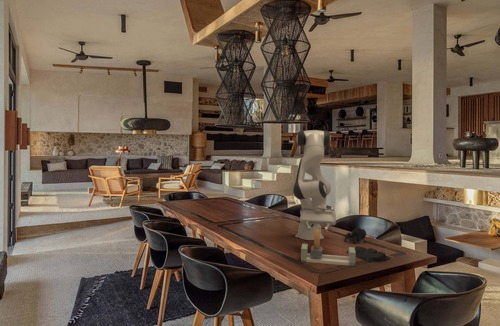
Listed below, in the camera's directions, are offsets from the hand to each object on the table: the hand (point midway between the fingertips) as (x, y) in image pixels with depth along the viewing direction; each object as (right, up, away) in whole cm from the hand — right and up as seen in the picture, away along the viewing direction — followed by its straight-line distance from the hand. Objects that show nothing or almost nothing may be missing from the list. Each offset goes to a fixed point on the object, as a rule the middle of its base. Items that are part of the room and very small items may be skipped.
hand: (317, 230), depth 210 cm
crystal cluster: (+30, -14, +34) cm, 48 cm away
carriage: (-2, -12, -7) cm, 14 cm away
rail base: (+4, -15, -8) cm, 18 cm away
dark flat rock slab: (+29, -16, +3) cm, 33 cm away
